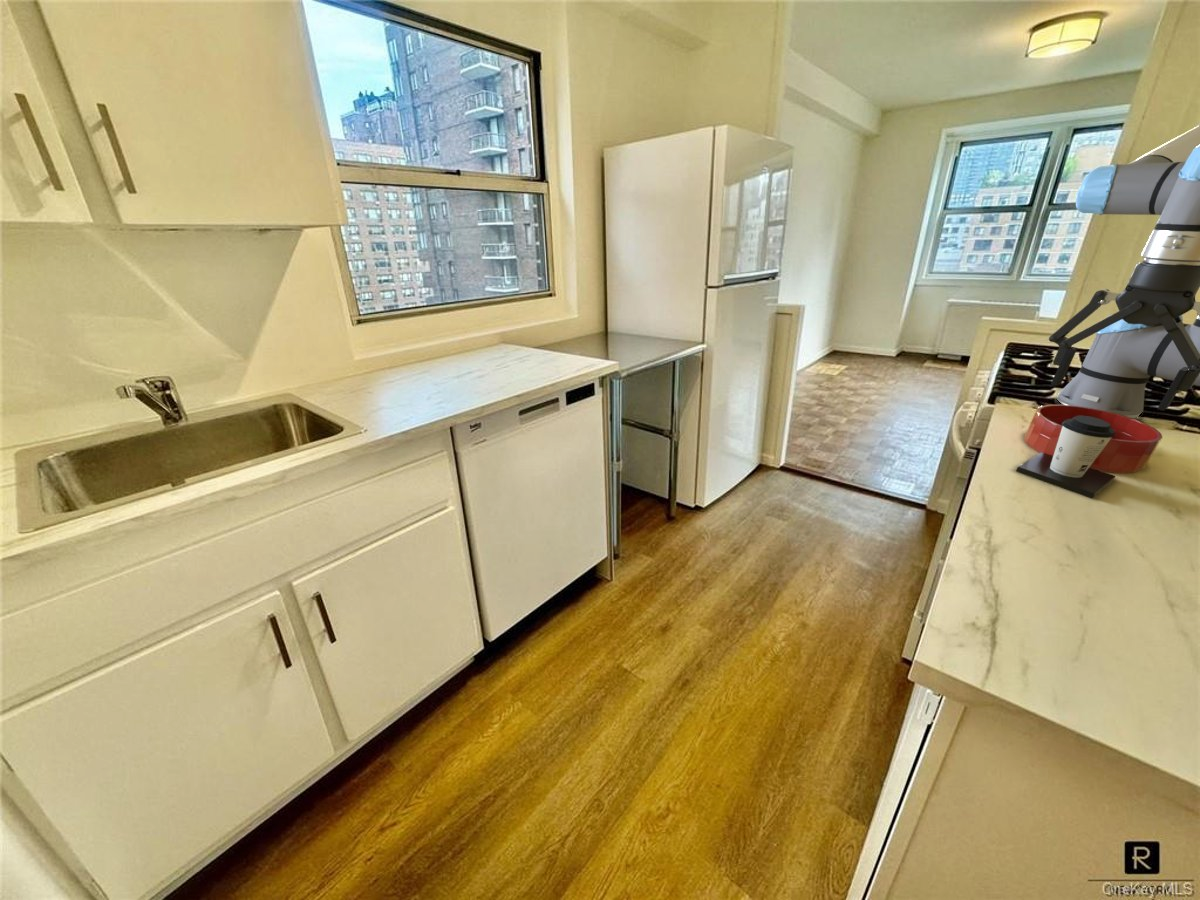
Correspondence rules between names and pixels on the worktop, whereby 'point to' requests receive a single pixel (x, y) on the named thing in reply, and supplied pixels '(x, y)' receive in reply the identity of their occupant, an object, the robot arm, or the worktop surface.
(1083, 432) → the coffee cup
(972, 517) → the worktop surface
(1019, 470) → the plate
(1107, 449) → the bowl
